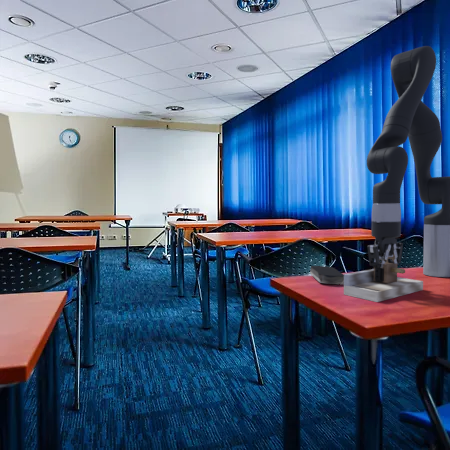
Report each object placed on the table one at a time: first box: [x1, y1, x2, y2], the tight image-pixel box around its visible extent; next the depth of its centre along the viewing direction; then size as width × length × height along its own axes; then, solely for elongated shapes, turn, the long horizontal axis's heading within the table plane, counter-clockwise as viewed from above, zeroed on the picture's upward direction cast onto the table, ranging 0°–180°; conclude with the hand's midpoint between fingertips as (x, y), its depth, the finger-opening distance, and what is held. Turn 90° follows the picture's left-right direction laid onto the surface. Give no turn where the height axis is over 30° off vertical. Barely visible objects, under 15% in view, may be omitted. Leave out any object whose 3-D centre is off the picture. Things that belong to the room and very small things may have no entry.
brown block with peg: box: [373, 261, 406, 283], centre depth 101 cm, size 5×8×5 cm, turn 35°
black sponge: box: [309, 265, 344, 286], centre depth 119 cm, size 16×8×4 cm, turn 178°
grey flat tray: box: [343, 268, 424, 303], centre depth 101 cm, size 22×10×6 cm, turn 125°
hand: (385, 279), depth 103 cm, fingers closed on brown block with peg, 5 cm apart
